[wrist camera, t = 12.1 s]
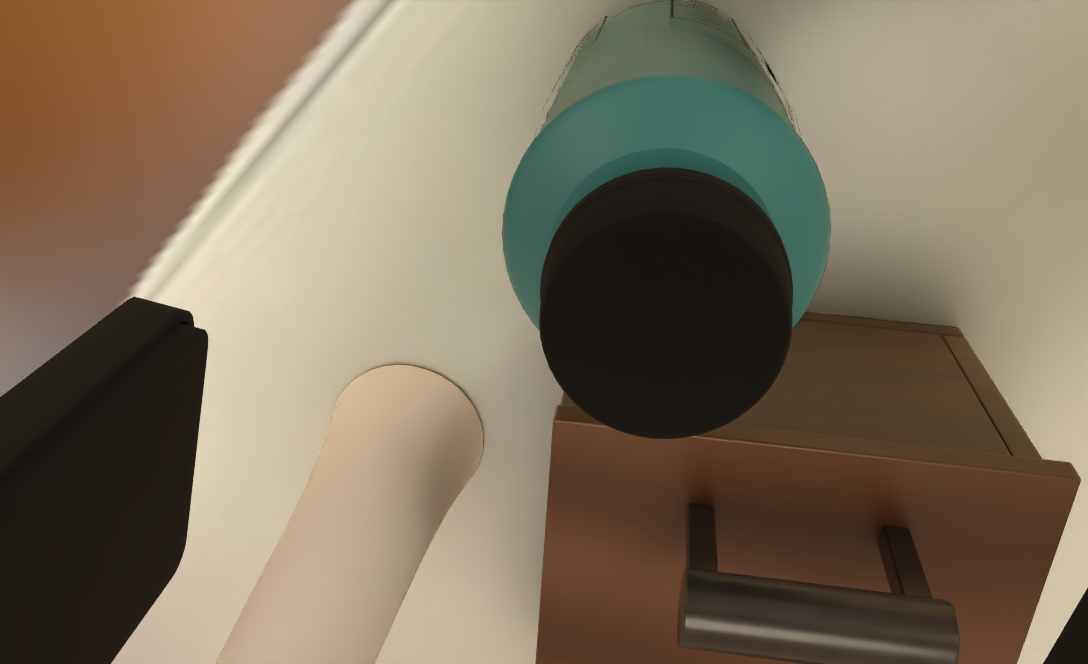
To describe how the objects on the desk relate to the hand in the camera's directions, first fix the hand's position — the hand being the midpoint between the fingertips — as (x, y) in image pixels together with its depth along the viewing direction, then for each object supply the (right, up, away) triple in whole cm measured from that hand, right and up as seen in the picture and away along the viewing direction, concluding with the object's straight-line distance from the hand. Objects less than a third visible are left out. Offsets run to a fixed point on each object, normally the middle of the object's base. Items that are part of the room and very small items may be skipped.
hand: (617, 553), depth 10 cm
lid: (+6, -8, +19) cm, 21 cm away
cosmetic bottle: (-6, -2, +29) cm, 30 cm away
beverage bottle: (+3, +10, +23) cm, 25 cm away
